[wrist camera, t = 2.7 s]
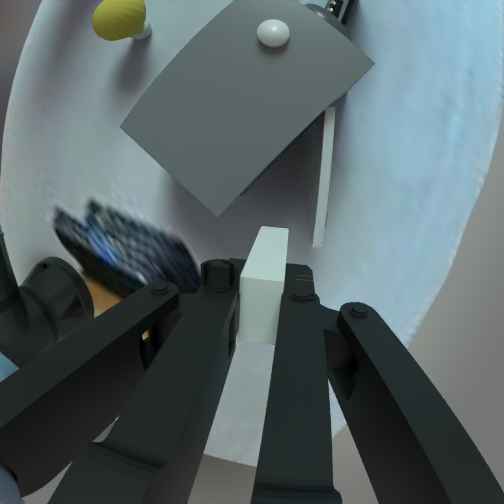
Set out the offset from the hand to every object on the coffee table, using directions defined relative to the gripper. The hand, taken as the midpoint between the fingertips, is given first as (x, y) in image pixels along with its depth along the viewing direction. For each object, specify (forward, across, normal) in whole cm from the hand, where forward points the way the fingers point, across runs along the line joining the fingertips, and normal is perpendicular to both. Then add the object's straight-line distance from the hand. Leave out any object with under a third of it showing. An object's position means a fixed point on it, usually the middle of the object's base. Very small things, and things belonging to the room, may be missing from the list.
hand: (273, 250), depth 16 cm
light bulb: (+19, -20, +23) cm, 36 cm away
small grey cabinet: (+19, -4, +11) cm, 22 cm away
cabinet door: (+17, +4, +4) cm, 18 cm away
